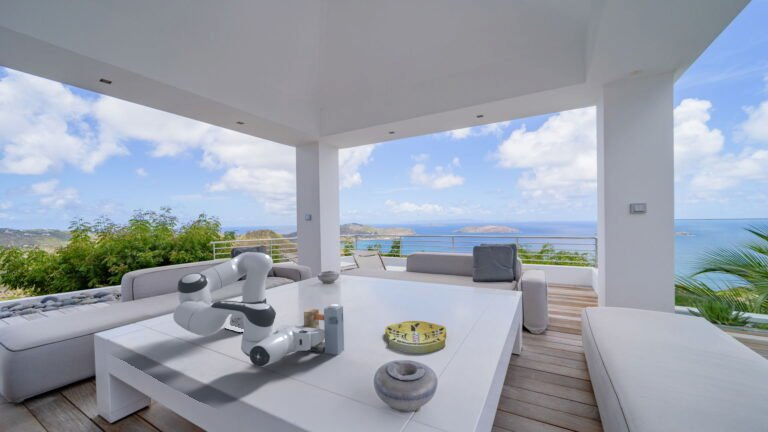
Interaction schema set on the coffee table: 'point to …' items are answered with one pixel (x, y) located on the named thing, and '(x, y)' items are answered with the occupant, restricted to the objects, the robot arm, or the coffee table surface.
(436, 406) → the coffee table surface
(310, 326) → the beige post on base
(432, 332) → the yellow printed disc
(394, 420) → the coffee table surface
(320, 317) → the reddish-brown cylinder
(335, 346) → the blue-grey post
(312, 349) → the rail
